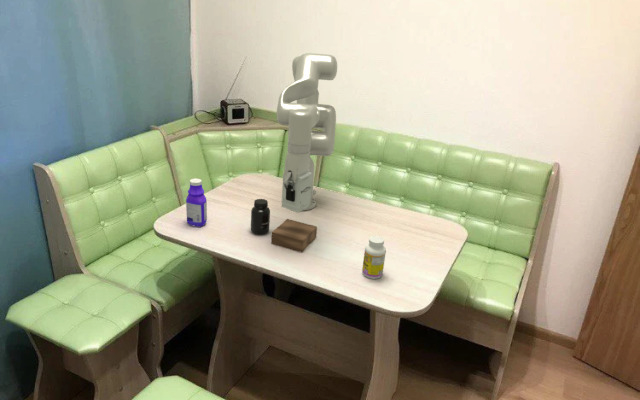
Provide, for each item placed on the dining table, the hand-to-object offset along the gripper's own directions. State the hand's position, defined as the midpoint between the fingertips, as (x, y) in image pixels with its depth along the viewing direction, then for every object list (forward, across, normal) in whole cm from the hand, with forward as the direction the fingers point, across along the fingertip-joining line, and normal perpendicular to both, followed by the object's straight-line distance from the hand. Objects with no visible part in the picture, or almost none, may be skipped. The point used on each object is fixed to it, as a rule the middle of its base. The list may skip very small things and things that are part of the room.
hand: (296, 196), depth 168 cm
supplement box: (+4, 0, 0) cm, 4 cm away
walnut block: (+18, 0, 0) cm, 18 cm away
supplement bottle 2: (+18, +4, +32) cm, 37 cm away
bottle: (+18, +10, -36) cm, 41 cm away
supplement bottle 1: (+18, +1, -14) cm, 23 cm away
